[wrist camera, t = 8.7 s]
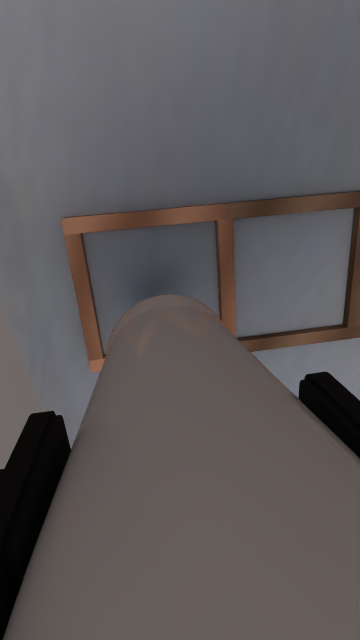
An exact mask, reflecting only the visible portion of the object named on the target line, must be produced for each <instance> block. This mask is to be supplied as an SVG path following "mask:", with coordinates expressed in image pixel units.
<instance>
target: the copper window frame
mask: <svg viewBox="0 0 360 640" xmlns="http://www.w3.org/2000/svg"><path fill="white" fill-rule="evenodd" d="M354 207H355V212H354V222H353V232H352V242H351V252H350V262H349V272H348V282H347V292H346V302H345V312H344V322H343V325H338V326H330V327H322V328H314V329H306V330H299V331H291V332H283V333H275V334H267V335H259V336H251V337H244V338H237V339H238V340H239V341H240V342H241V343H242V344H243V345H244V346H245V347H246V348H247V349H248V350H249V351H250V352H253V351H260V350H268V349H275V348H283V347H291V346H298V345H306V344H313V343H321V342H329V341H336V340H344V339H351V338H359V337H360V191H356V192H345V193H334V194H323V195H312V196H301V197H290V198H279V199H267V200H256V201H245V202H234V203H223V204H212V205H201V206H190V207H179V208H168V209H156V210H145V211H134V212H123V213H112V214H101V215H90V216H79V217H68V218H61V222H62V227H63V232H64V237H65V242H66V247H67V252H68V257H69V262H70V267H71V272H72V277H73V282H74V287H75V292H76V297H77V302H78V307H79V312H80V317H81V322H82V327H83V332H84V337H85V342H86V347H87V352H88V357H89V362H90V368H91V373H93V372H100V371H101V368H102V366H103V363H104V360H105V357H106V355H104V354H103V349H102V343H101V338H100V332H99V327H98V321H97V316H96V310H95V304H94V299H93V293H92V288H91V282H90V277H89V271H88V266H87V260H86V255H85V249H84V243H83V238H82V233H90V232H100V231H111V230H121V229H132V228H142V227H153V226H163V225H174V224H185V223H195V222H206V221H216V227H217V252H218V277H219V302H220V320H221V321H222V323H223V324H224V326H225V327H226V328H227V329H228V330H229V331H230V332H231V333H232V334H233V335H234V336H235V337H236V328H235V284H234V241H233V219H237V218H248V217H259V216H269V215H280V214H290V213H301V212H311V211H322V210H333V209H343V208H354Z"/></svg>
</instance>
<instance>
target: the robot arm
mask: <svg viewBox="0 0 360 640" xmlns="http://www.w3.org/2000/svg"><path fill="white" fill-rule="evenodd" d="M299 400H300V401H301V402H302V403H304V404H305V405H306V406H307V407H308V408H309V409H310V410H311V411H312V412H313V413H314V414H315V415H316V416H317V417H318V418H319V419H320V420H321V421H322V422H323V423H324V424H325V425H326V426H327V427H328V428H329V429H331V430H332V431H333V432H334V433H335V434H336V435H337V436H338V437H339V438H340V439H341V440H342V441H343V442H344V443H345V444H346V445H347V446H348V447H349V448H350V449H351V450H352V451H353V452H354V453H355V454H356V455H357V456H358V457H359V458H360V401H359V400H358V399H357V398H356V397H355V396H354V395H353V394H352V393H351V392H349V391H348V390H347V389H346V388H345V387H344V386H343V385H342V384H341V383H339V382H338V381H337V380H336V379H335V378H334V377H333V376H332V375H331V374H329V373H328V372H320V373H313V374H307V375H306V376H305V379H304V380H301V381H300V384H299ZM70 451H71V448H70V444H69V440H68V436H67V432H66V428H65V424H64V420H63V417H62V415H57V416H56V414H55V412H54V411H47V412H40V413H33V414H31V415H30V416H29V418H28V420H27V423H26V425H25V426H24V429H23V431H22V433H21V435H20V437H19V439H18V441H17V443H16V446H15V448H14V450H13V452H12V454H11V456H10V458H9V460H8V462H7V464H6V467H5V469H0V640H2V639H3V636H4V633H5V630H6V627H7V624H8V621H9V618H10V615H11V612H12V609H13V606H14V603H15V600H16V598H17V595H18V592H19V589H20V586H21V583H22V580H23V577H24V574H25V572H26V569H27V566H28V563H29V561H30V558H31V555H32V552H33V550H34V547H35V544H36V542H37V539H38V536H39V533H40V531H41V528H42V525H43V523H44V520H45V517H46V515H47V512H48V509H49V507H50V504H51V501H52V499H53V496H54V494H55V491H56V488H57V486H58V483H59V480H60V478H61V475H62V472H63V470H64V467H65V465H66V462H67V459H68V457H69V454H70Z"/></svg>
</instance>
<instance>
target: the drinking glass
mask: <svg viewBox="0 0 360 640" xmlns="http://www.w3.org/2000/svg"><path fill="white" fill-rule="evenodd" d="M2 640H360V458H359V457H358V456H357V455H356V454H355V453H354V452H353V451H352V450H351V449H350V448H349V447H348V446H347V445H346V444H345V443H344V442H343V441H342V440H341V439H340V438H339V437H338V436H337V435H336V434H335V433H334V432H333V431H332V430H331V429H329V428H328V427H327V426H326V425H325V424H324V423H323V422H322V421H321V420H320V419H319V418H318V417H317V416H316V415H315V414H314V413H313V412H312V411H311V410H310V409H309V408H308V407H307V406H306V405H305V404H304V403H302V402H301V401H300V400H299V399H298V398H297V397H296V396H295V395H294V394H293V393H292V392H291V391H290V390H289V389H288V388H287V387H286V386H285V385H284V384H283V383H282V382H281V381H280V380H279V379H278V378H276V377H275V376H274V375H273V374H272V373H271V372H270V371H269V370H268V369H267V368H266V367H265V366H264V365H263V364H262V363H261V362H260V361H259V360H258V359H257V358H256V357H255V356H254V355H253V354H252V353H251V352H250V351H249V350H248V349H247V348H246V347H245V346H244V345H243V344H242V343H241V342H240V341H239V340H238V339H237V338H236V337H235V336H234V335H233V334H232V333H231V332H230V331H229V330H228V329H227V328H226V327H225V326H224V324H223V323H222V321H221V320H220V319H219V317H218V316H217V315H216V314H215V313H214V312H213V311H212V310H211V309H210V308H209V307H208V306H206V305H205V304H203V303H202V302H200V301H198V300H196V299H193V298H191V297H187V296H183V295H176V294H164V295H158V296H153V297H150V298H147V299H145V300H142V301H141V302H139V303H137V304H135V305H134V306H132V307H131V308H130V309H129V310H127V311H126V312H125V313H124V314H123V315H122V316H121V318H120V319H119V320H118V322H117V323H116V325H115V327H114V329H113V330H112V333H111V336H110V339H109V342H108V347H107V353H106V357H105V360H104V363H103V366H102V368H101V371H100V374H99V377H98V379H97V382H96V385H95V388H94V390H93V393H92V396H91V398H90V401H89V404H88V406H87V409H86V412H85V414H84V417H83V420H82V422H81V425H80V428H79V430H78V433H77V436H76V438H75V441H74V444H73V446H72V449H71V451H70V454H69V457H68V459H67V462H66V465H65V467H64V470H63V472H62V475H61V478H60V480H59V483H58V486H57V488H56V491H55V494H54V496H53V499H52V501H51V504H50V507H49V509H48V512H47V515H46V517H45V520H44V523H43V525H42V528H41V531H40V533H39V536H38V539H37V542H36V544H35V547H34V550H33V552H32V555H31V558H30V561H29V563H28V566H27V569H26V572H25V574H24V577H23V580H22V583H21V586H20V589H19V592H18V595H17V598H16V600H15V603H14V606H13V609H12V612H11V615H10V618H9V621H8V624H7V627H6V630H5V633H4V636H3V639H2Z"/></svg>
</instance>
